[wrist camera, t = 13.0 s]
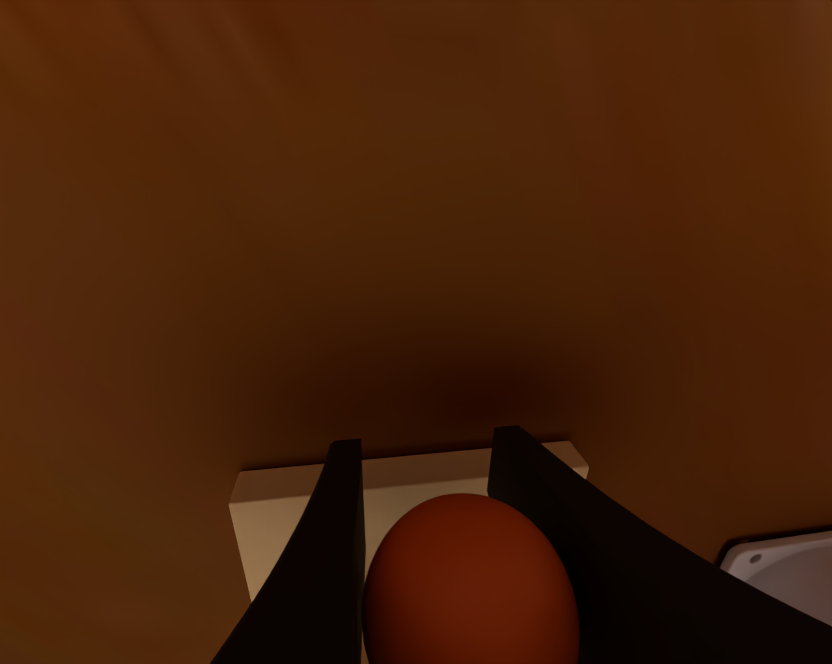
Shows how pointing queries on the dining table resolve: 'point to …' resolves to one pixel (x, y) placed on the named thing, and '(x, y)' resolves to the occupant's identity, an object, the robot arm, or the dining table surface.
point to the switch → (468, 589)
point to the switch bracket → (383, 499)
